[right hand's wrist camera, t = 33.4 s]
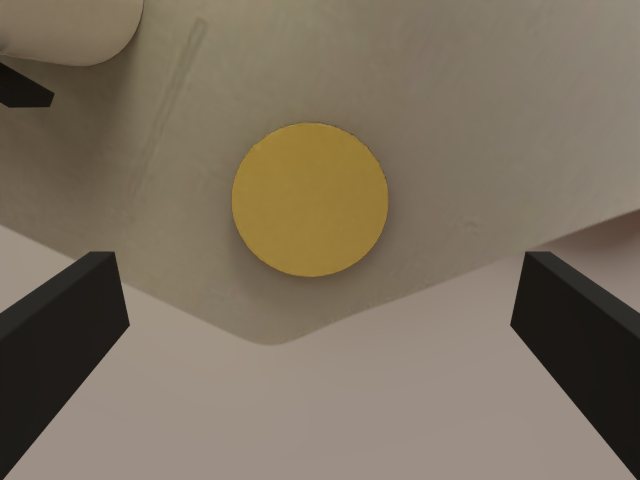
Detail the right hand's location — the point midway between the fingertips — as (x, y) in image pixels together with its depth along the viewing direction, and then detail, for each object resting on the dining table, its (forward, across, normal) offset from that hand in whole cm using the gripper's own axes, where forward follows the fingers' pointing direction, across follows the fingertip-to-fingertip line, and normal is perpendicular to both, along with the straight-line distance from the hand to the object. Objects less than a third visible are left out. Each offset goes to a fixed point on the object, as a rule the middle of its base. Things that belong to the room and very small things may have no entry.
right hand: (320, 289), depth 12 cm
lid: (+13, +1, +1) cm, 13 cm away
